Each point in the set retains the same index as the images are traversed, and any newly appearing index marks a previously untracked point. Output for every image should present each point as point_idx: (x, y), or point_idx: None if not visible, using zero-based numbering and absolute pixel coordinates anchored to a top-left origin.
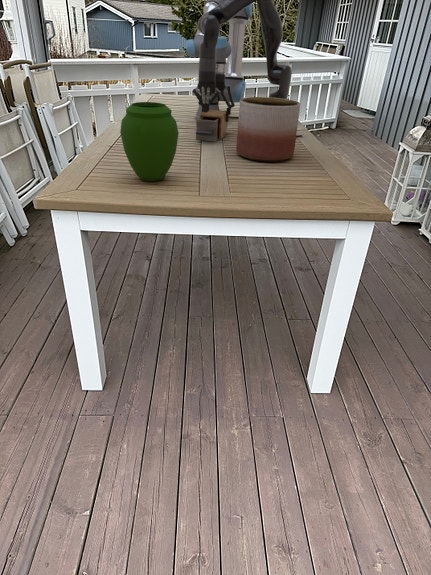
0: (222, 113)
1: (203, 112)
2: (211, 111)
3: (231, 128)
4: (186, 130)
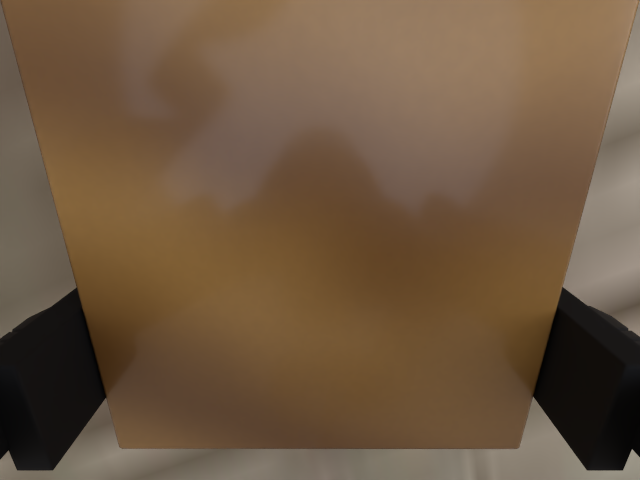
0: (87, 109)
1: (609, 7)
2: (407, 264)
3: (237, 453)
4: (613, 245)
